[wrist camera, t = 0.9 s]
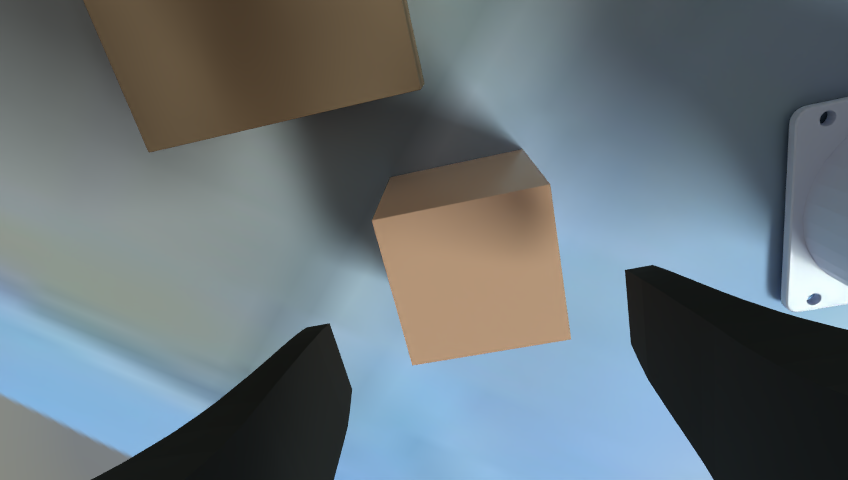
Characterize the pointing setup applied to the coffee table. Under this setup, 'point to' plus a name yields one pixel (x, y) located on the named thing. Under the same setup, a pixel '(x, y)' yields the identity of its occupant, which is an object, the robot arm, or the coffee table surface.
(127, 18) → the tan flat block
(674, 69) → the coffee table surface
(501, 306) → the cube
